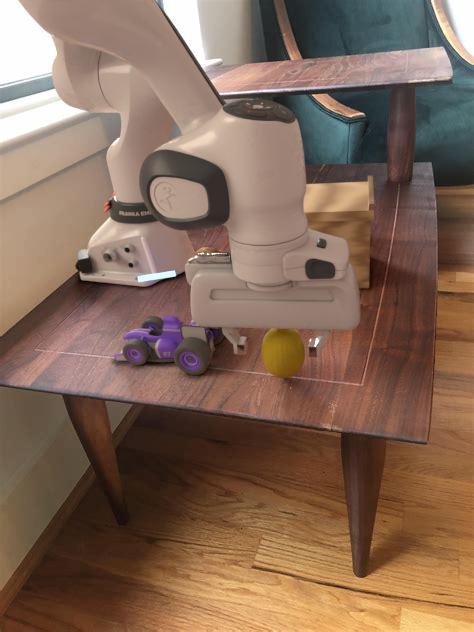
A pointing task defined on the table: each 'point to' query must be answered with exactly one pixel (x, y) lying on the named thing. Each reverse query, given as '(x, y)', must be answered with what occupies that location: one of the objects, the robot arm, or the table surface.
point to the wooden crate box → (344, 218)
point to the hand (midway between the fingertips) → (277, 353)
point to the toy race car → (171, 344)
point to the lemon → (283, 352)
